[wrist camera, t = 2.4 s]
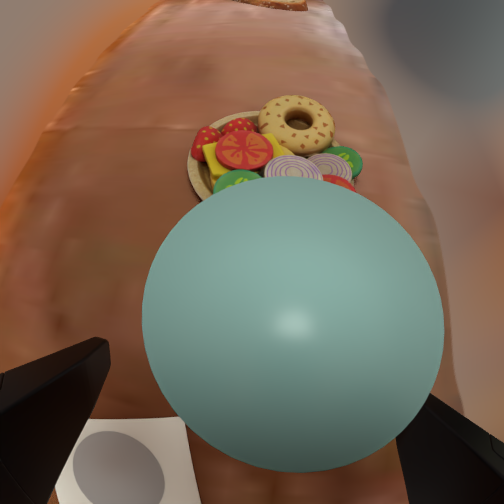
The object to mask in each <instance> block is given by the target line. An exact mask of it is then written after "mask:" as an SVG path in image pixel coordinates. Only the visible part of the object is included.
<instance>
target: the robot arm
mask: <svg viewBox="0 0 504 504" xmlns="http://www.w3.org/2000/svg"><path fill="white" fill-rule="evenodd" d="M110 365H111V360H110V349H109V342H108V341H107V340H106V339H103V338H99V337H93V338H90V339H88V340H85V341H83V342H80V343H78V344H75V345H73V346H70V347H68V348H65V349H63V350H60V351H58V352H55V353H53V354H50V355H47V356H45V357H42V358H40V359H37V360H35V361H32V362H29V363H27V364H24V365H22V366H19V367H16V368H14V369H11V370H8V371H6V372H5V374H4V373H0V504H47V503H48V500H49V498H50V496H51V494H52V492H53V489H54V487H55V485H56V483H57V481H58V479H59V477H60V474H61V472H62V470H63V468H64V466H65V464H66V462H67V460H68V458H69V456H70V454H71V452H72V450H73V448H74V446H75V444H76V442H77V440H78V438H79V436H80V434H81V432H82V430H83V428H84V426H85V424H86V423H87V421H88V419H89V417H90V415H91V413H92V411H93V409H94V407H95V404H96V402H97V399H98V397H99V394H100V392H101V389H102V387H103V384H104V382H105V379H106V377H107V374H108V372H109V369H110ZM396 444H397V449H398V454H399V458H400V462H401V467H402V471H403V476H404V480H405V485H406V490H407V495H408V500H409V504H504V443H503V442H501V441H500V440H498V439H497V438H495V437H494V436H492V435H491V434H490V435H489V433H488V432H486V431H485V430H483V429H482V428H481V427H479V426H478V425H476V424H475V423H473V422H472V421H470V420H469V419H467V418H466V417H464V416H463V415H461V414H460V413H459V412H457V411H456V410H454V409H453V408H451V407H450V406H448V405H447V404H445V403H444V402H443V401H441V400H440V399H438V398H437V397H435V396H434V395H432V394H431V393H429V395H428V397H427V399H426V401H425V403H424V404H423V406H422V407H421V409H420V410H419V412H418V413H417V415H416V416H415V417H414V419H413V420H412V421H411V422H410V423H409V424H408V425H407V426H406V428H405V429H404V430H403V431H402V432H401V433H400V434H399V435H397V436H396Z"/></svg>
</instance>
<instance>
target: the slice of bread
mask: <svg viewBox="0 0 504 504" xmlns="http://www.w3.org/2000/svg"><path fill="white" fill-rule="evenodd" d="M233 1H237V2H241V3H247V4H252V5H256V6H262V7H268V8H274V9H282V10H290V11H308V8H307V4H306V1H305V0H233Z"/></svg>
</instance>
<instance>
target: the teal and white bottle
mask: <svg viewBox="0 0 504 504" xmlns="http://www.w3.org/2000/svg"><path fill="white" fill-rule="evenodd" d="M142 330H143V337H144V344H145V350H146V353H147V357H148V360H149V363H150V367H151V370H152V372H153V375H154V377H155V379H156V381H157V383H158V385H159V387H160V389H161V391H162V393H163V395H164V396H165V398H166V399H167V401H168V402H169V404H170V405H171V407H172V408H173V410H174V411H175V412H176V414H177V415H178V416H179V417H180V418H181V419H182V420H183V421H184V422H185V423H186V424H187V426H188V427H189V428H190V429H191V430H192V431H194V432H195V433H196V434H197V435H198V436H200V437H201V438H202V439H203V440H205V441H206V442H207V443H209V444H210V445H211V446H213V447H215V448H216V449H218V450H220V451H221V452H223V453H225V454H227V455H229V456H230V457H232V458H235V459H237V460H240V461H242V462H245V463H247V464H250V465H253V466H256V467H260V468H265V469H269V470H274V471H280V472H296V473H305V472H316V471H325V470H330V469H334V468H338V467H342V466H345V465H348V464H351V463H353V462H356V461H358V460H360V459H363V458H365V457H367V456H369V455H371V454H372V453H374V452H376V451H377V450H379V449H380V448H382V447H384V446H385V445H386V444H388V443H389V442H390V441H391V440H393V439H394V438H395V437H396V436H397V435H399V434H400V433H401V432H402V431H403V430H404V429H405V428H406V426H407V425H408V424H409V423H410V422H411V421H412V420H413V419H414V417H415V416H416V415H417V413H418V412H419V410H420V409H421V407H422V406H423V404H424V403H425V401H426V399H427V397H428V395H429V393H430V391H431V389H432V387H433V385H434V382H435V379H436V376H437V373H438V370H439V367H440V362H441V357H442V352H443V342H444V318H443V310H442V304H441V298H440V294H439V291H438V288H437V284H436V281H435V279H434V276H433V274H432V271H431V269H430V267H429V265H428V263H427V261H426V259H425V257H424V256H423V254H422V252H421V250H420V249H419V248H418V246H417V245H416V243H415V242H414V241H413V239H412V238H411V236H410V235H409V234H408V233H407V232H406V231H405V230H404V229H403V227H402V226H401V225H400V224H399V223H398V222H397V221H396V220H395V219H393V218H392V217H391V216H390V215H389V214H388V213H387V212H385V211H384V210H383V209H381V208H380V207H379V206H377V205H376V204H375V203H373V202H371V201H370V200H368V199H366V198H365V197H363V196H361V195H359V194H357V193H355V192H353V191H351V190H349V189H346V188H344V187H342V186H339V185H336V184H333V183H330V182H326V181H322V180H317V179H312V178H305V177H296V176H275V177H266V178H259V179H254V180H250V181H245V182H242V183H239V184H236V185H233V186H230V187H228V188H225V189H223V190H221V191H219V192H217V193H215V194H213V195H211V196H210V197H208V198H207V199H205V200H204V201H202V202H201V203H199V204H198V205H196V206H195V207H194V208H193V209H192V210H191V211H189V212H188V213H187V214H186V215H185V216H184V217H183V218H182V219H181V220H180V221H179V222H178V223H177V224H176V226H175V227H174V228H173V229H172V230H171V231H170V233H169V234H168V236H167V237H166V239H165V240H164V242H163V243H162V245H161V246H160V248H159V250H158V252H157V254H156V257H155V259H154V261H153V263H152V265H151V268H150V271H149V275H148V278H147V281H146V284H145V291H144V297H143V304H142Z"/></svg>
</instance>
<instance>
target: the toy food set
mask: <svg viewBox="0 0 504 504" xmlns="http://www.w3.org/2000/svg"><path fill="white" fill-rule="evenodd" d="M334 134H335V123H334V120H333V118H332V116H331V115H330V113H329V112H328V111H327V109H326V108H325V107H323V106H322V105H321V104H320V103H318V102H316V101H314V100H312V99H310V98H307V97H303V96H297V95H287V96H281V97H278V98H275V99H273V100H271V101H269V102H268V103H267V104H266V105H265V106H264V107H263V108H262V109H261V111H252V112H243V113H238V114H234V115H231V116H227V117H225V118H222V119H220V120H218V121H217V122H215V123H213V124H212V125H210V126H206V127H203V128H201V129H200V130H199V132H198V133H197V135H196V138H195V140H194V143H193V145H192V147H191V149H190V152H189V156H188V163H187V167H188V174H189V178H190V181H191V184H192V186H193V188H194V189H195V191H196V193H197V194H198V196H199V197H200V198H201V199H202V201H204V200H205V199H207V198H208V197H210V196H211V195H213V194H215V193H217V192H219V191H221V190H223V189H225V188H228V187H230V186H233V185H236V184H239V183H242V182H245V181H250V180H254V179H259V178H266V177H275V176H296V177H305V178H312V179H317V180H322V181H326V182H330V183H333V184H336V185H339V186H342V187H344V188H346V189H349V190H351V191H353V192H355V193H356V191H355V189H354V187H353V186H354V178H355V177H356V176H358V175H359V174H360V172H361V170H362V165H363V163H362V159H361V157H360V155H359V154H358V153H357V152H356V151H354V150H353V149H351V148H348V147H344V146H340V145H339V144H338V143H337V142H336V141H335V140H334V139H333V138H334Z"/></svg>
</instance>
